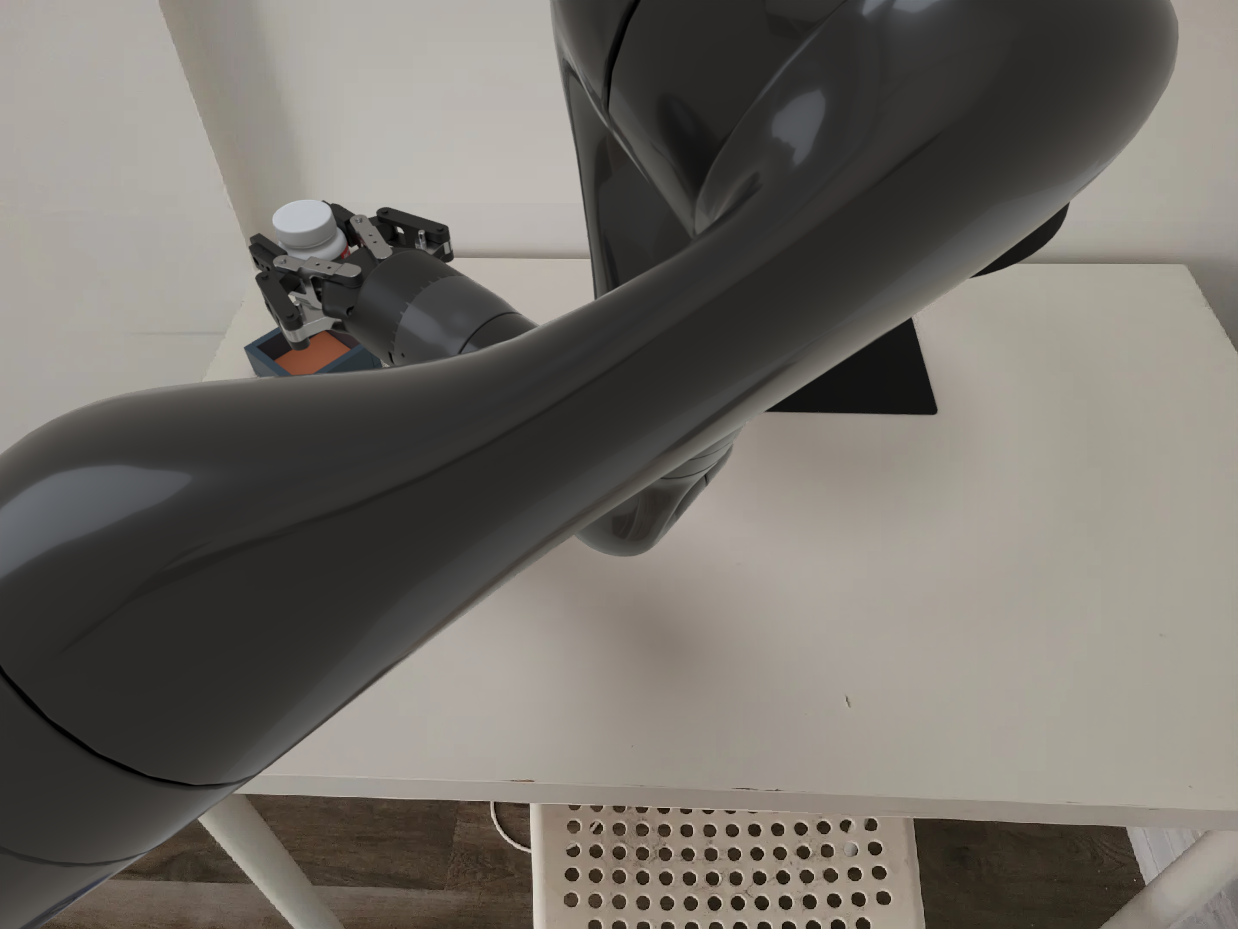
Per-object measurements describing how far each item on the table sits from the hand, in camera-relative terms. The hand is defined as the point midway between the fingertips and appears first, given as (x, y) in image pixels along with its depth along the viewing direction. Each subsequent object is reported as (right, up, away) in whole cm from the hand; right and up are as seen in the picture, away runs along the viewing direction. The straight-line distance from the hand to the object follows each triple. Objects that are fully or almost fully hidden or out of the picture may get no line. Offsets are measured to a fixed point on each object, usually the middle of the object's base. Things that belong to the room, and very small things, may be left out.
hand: (290, 229), depth 63 cm
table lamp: (+40, -11, +14) cm, 44 cm away
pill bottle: (+2, -5, +4) cm, 7 cm away
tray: (-3, -8, +16) cm, 18 cm away
